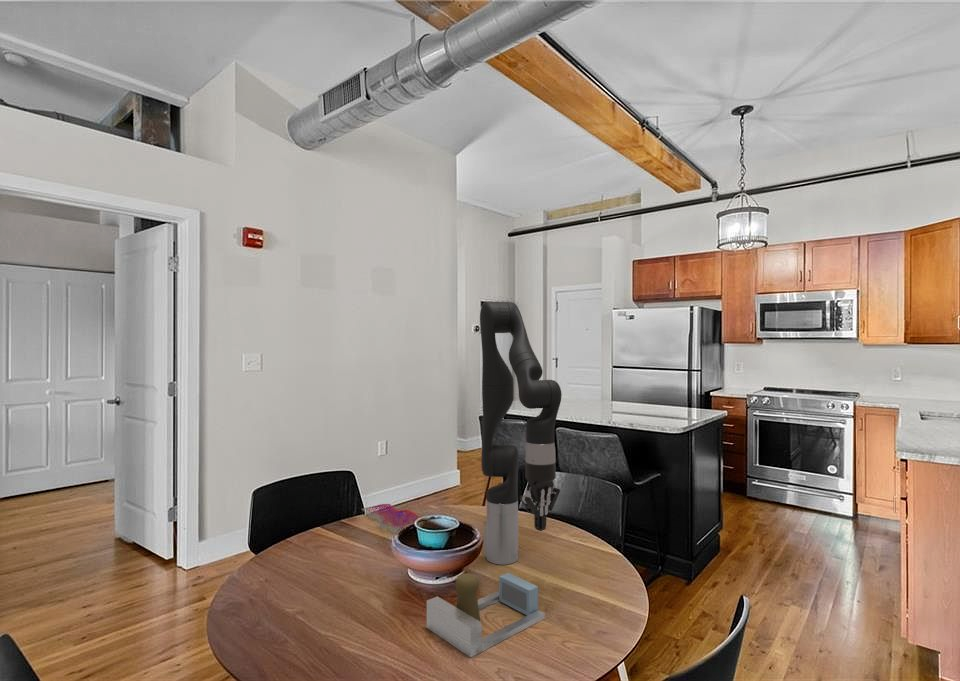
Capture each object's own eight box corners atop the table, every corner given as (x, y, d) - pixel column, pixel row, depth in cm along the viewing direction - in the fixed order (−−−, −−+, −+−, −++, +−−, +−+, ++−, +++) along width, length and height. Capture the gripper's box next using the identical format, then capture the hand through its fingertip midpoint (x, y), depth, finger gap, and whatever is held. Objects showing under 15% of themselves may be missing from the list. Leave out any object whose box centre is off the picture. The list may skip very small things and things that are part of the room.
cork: (481, 631, 115) (481, 581, 115) (454, 632, 115) (453, 582, 115) (479, 617, 121) (479, 569, 121) (453, 618, 121) (453, 570, 121)
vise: (426, 627, 117) (426, 600, 117) (499, 595, 132) (499, 571, 132) (470, 657, 106) (470, 627, 106) (544, 618, 121) (544, 592, 121)
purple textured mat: (359, 515, 195) (359, 501, 195) (398, 508, 202) (398, 495, 202) (388, 541, 169) (388, 525, 169) (431, 532, 177) (431, 517, 177)
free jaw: (499, 601, 128) (498, 576, 128) (508, 596, 130) (508, 572, 130) (529, 616, 121) (529, 590, 121) (538, 612, 123) (538, 586, 123)
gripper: (533, 466, 124) (533, 540, 124) (569, 458, 133) (569, 527, 133) (510, 461, 130) (511, 532, 129) (546, 453, 138) (546, 519, 138)
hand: (540, 529), depth 131 cm, fingers closed
